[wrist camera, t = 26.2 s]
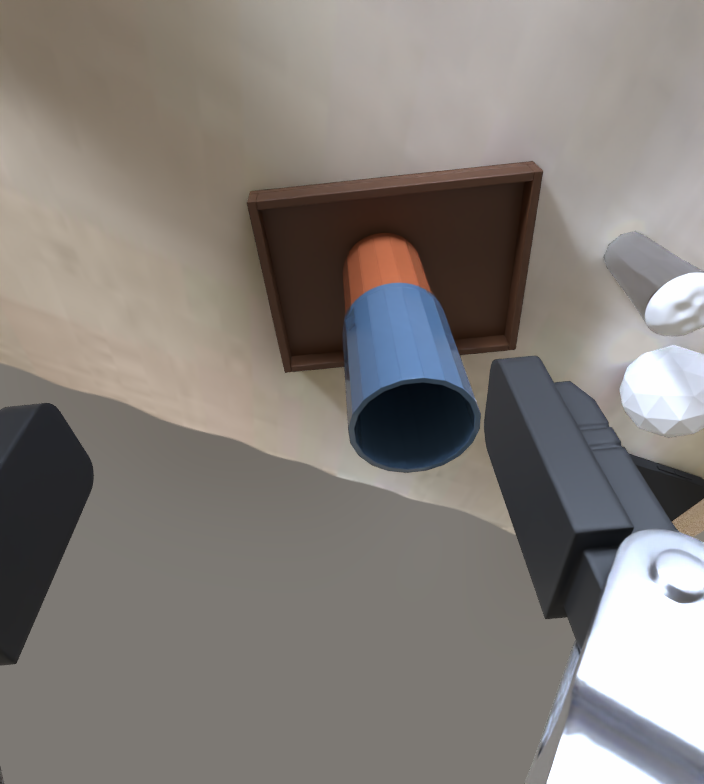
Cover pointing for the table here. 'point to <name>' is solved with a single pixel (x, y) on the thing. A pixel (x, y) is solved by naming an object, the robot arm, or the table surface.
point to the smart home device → (671, 486)
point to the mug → (381, 265)
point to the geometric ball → (665, 391)
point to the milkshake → (658, 284)
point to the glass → (405, 381)
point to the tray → (421, 228)
